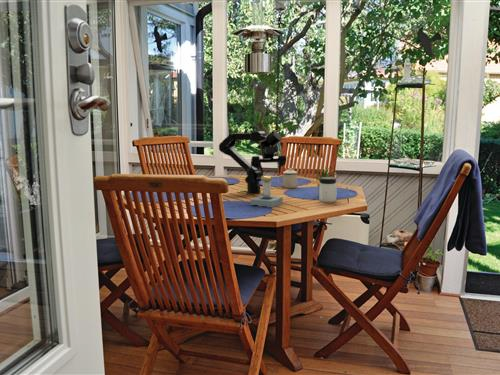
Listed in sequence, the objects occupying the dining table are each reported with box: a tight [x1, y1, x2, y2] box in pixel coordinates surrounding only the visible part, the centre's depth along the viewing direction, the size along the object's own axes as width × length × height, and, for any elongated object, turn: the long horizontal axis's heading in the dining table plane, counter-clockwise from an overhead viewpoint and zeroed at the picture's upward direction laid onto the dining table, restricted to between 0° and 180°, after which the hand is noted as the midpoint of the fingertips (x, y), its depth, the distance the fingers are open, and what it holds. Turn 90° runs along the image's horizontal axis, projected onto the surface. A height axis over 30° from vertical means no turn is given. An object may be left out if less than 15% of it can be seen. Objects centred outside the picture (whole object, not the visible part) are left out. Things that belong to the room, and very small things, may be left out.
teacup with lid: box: [277, 167, 298, 189], centre depth 290 cm, size 12×9×12 cm
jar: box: [318, 176, 338, 203], centre depth 246 cm, size 9×8×12 cm
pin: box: [261, 175, 273, 200], centre depth 238 cm, size 6×6×14 cm
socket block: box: [250, 195, 284, 208], centre depth 239 cm, size 12×12×3 cm
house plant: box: [314, 166, 338, 194], centre depth 259 cm, size 14×14×16 cm
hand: (271, 173), depth 252 cm, fingers open, 9 cm apart
